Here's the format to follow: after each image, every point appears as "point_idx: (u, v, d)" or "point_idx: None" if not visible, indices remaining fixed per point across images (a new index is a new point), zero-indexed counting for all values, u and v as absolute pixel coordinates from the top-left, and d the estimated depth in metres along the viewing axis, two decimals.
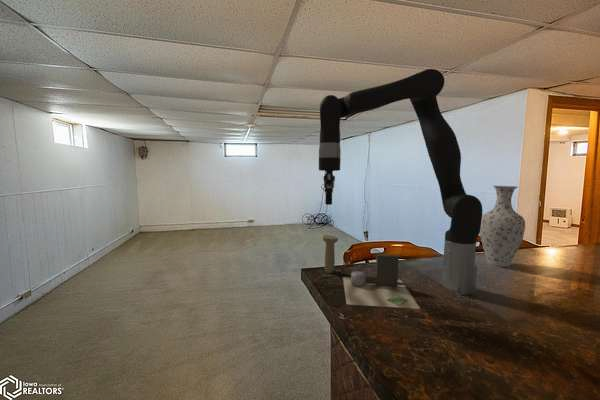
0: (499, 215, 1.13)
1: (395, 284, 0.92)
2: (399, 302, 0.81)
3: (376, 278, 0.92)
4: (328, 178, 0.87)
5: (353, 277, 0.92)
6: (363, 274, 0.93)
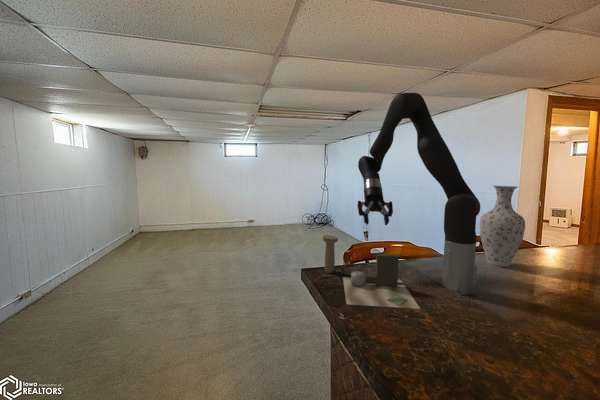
0: (499, 215, 1.13)
1: (395, 284, 0.92)
2: (399, 302, 0.81)
3: (376, 278, 0.92)
4: (358, 205, 1.10)
5: (353, 277, 0.92)
6: (363, 274, 0.93)
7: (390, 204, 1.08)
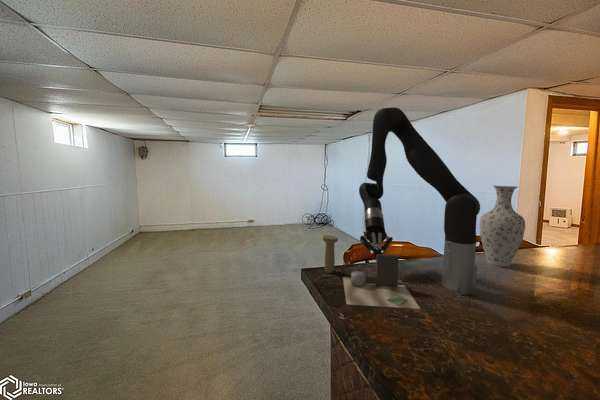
0: (499, 215, 1.13)
1: (395, 284, 0.92)
2: (399, 302, 0.81)
3: (376, 278, 0.92)
4: (362, 241, 1.05)
5: (353, 277, 0.92)
6: (363, 274, 0.93)
7: (389, 239, 1.03)
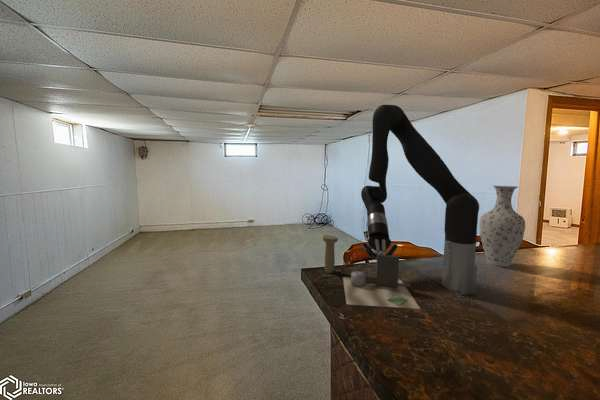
0: (499, 215, 1.13)
1: (395, 285, 0.91)
2: (399, 302, 0.81)
3: (376, 278, 0.92)
4: (364, 248, 0.99)
5: (353, 277, 0.92)
6: (363, 274, 0.93)
7: (394, 247, 0.97)
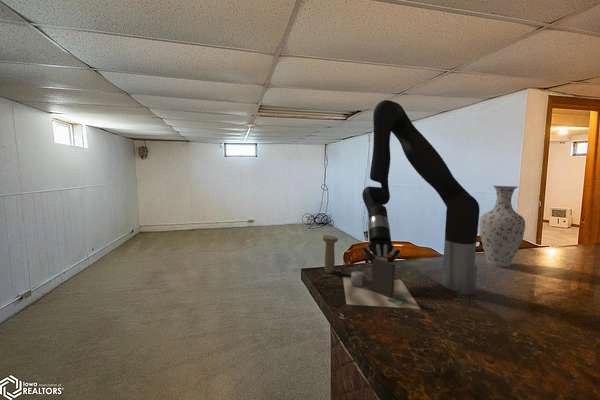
0: (499, 215, 1.13)
1: (389, 294, 0.84)
2: (399, 302, 0.81)
3: (371, 282, 0.89)
4: (365, 254, 0.93)
5: (351, 275, 0.94)
6: (361, 275, 0.92)
7: (396, 253, 0.91)
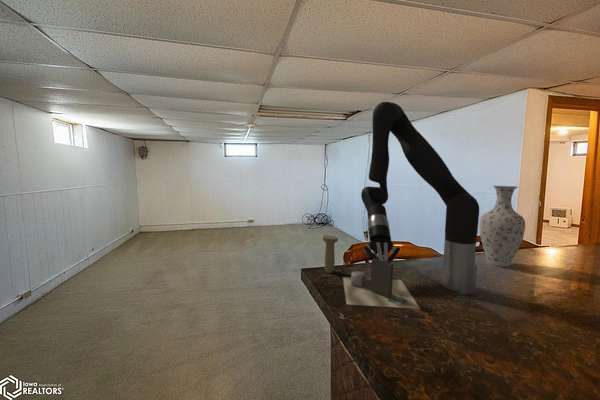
0: (499, 215, 1.13)
1: (387, 295, 0.83)
2: (399, 302, 0.81)
3: (370, 283, 0.88)
4: (365, 252, 0.94)
5: (351, 275, 0.94)
6: (361, 275, 0.92)
7: (396, 250, 0.93)
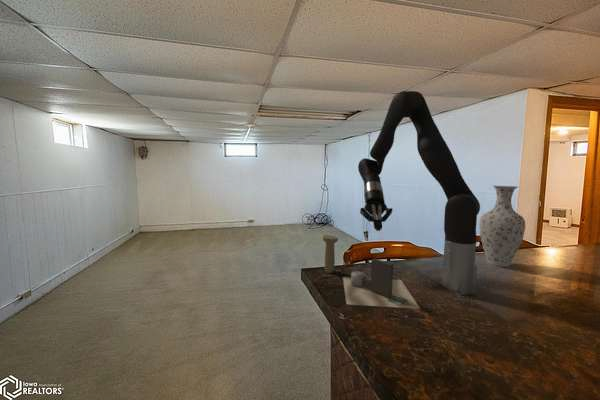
0: (499, 215, 1.13)
1: (387, 295, 0.83)
2: (399, 302, 0.81)
3: (370, 283, 0.88)
4: (362, 213, 1.06)
5: (351, 275, 0.94)
6: (361, 275, 0.92)
7: (389, 210, 1.05)
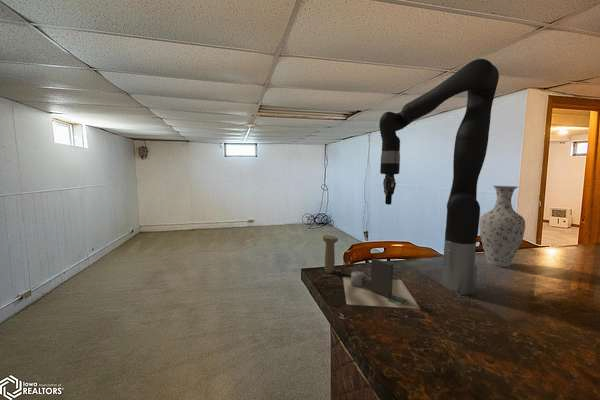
0: (499, 215, 1.13)
1: (387, 295, 0.83)
2: (399, 302, 0.81)
3: (370, 283, 0.88)
4: (391, 186, 1.06)
5: (351, 275, 0.94)
6: (361, 275, 0.92)
7: None
